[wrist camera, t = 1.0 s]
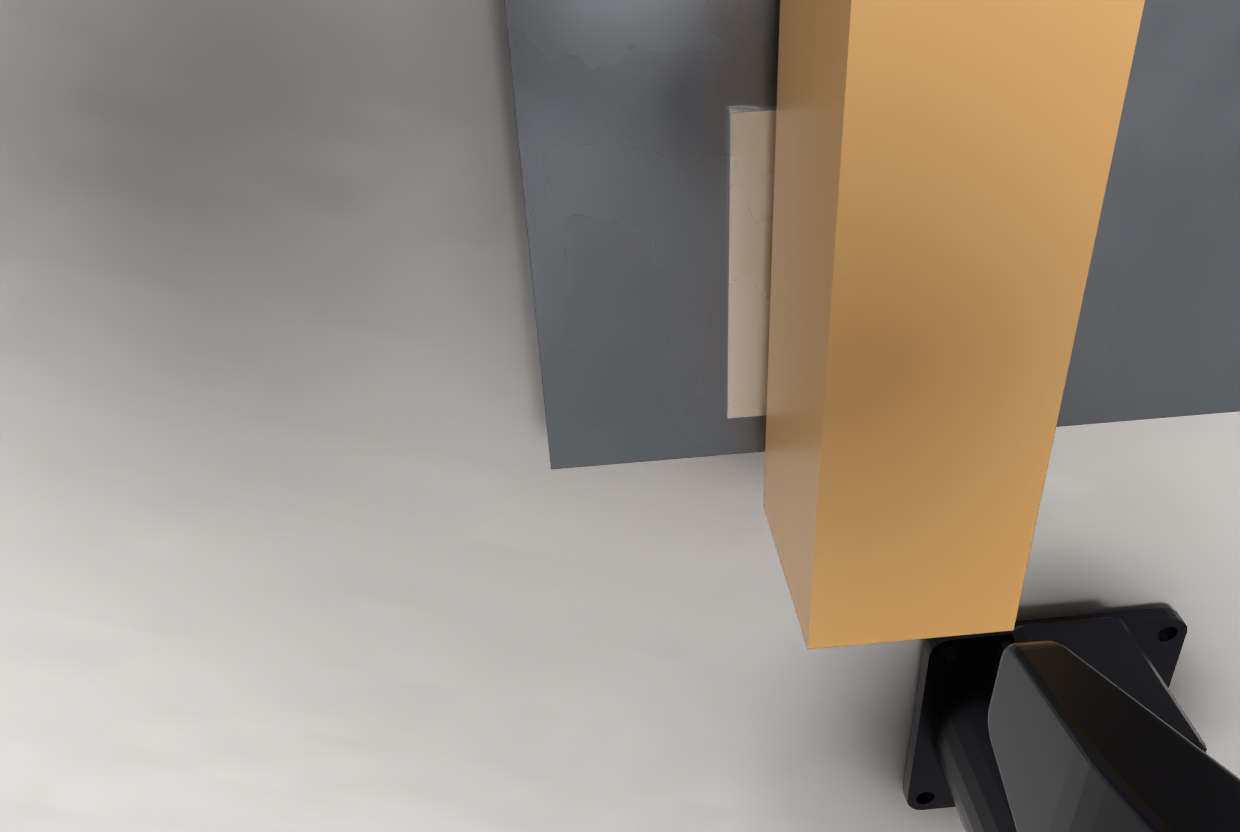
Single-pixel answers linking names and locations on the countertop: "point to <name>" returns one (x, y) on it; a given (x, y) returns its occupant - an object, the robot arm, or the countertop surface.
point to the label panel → (743, 224)
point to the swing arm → (928, 295)
